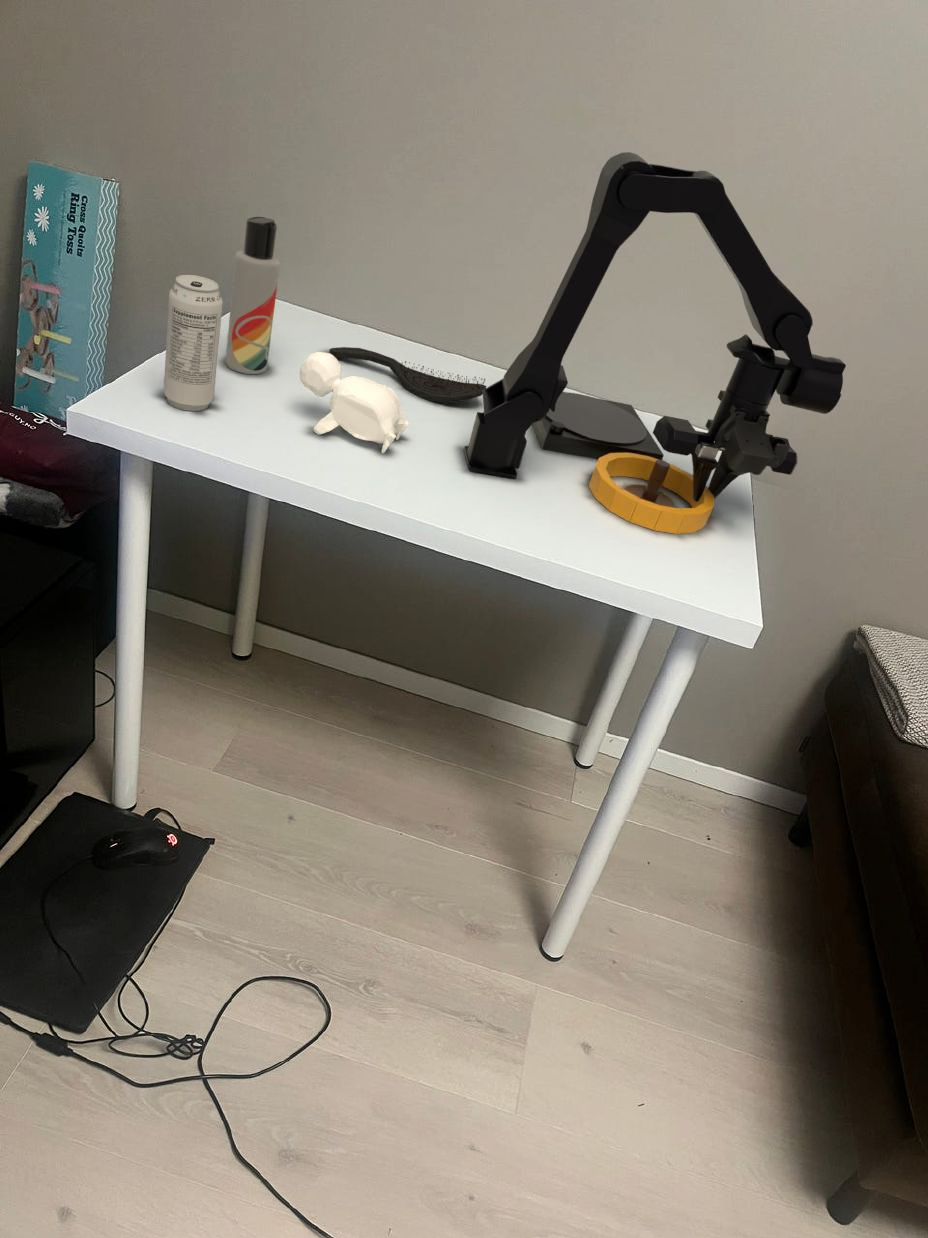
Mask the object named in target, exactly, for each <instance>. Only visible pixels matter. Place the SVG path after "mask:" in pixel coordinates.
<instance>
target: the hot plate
mask: <svg viewBox="0 0 928 1238" xmlns="http://www.w3.org/2000/svg"><path fill="white" fill-rule="evenodd" d="M531 426H532V427H533V429H534V432H535V434H536V437H537V439H538V442H539V445H540V447H541V449H542V450H547V451H550V452H551V451H552V452H558V453H563V454H569V455H572V456H573V455H574V456H580V457H585V458H591V459H597V460H598V459H599V458H600V457H602V456H605V455H607V454H609V453H634V454H639V455H645V456H649V457H652V458H655V459H658V460H663V459H664V457H665V454H664V453H663V452H662V450H661V448H660V446H658V445H659V444H657V442H656V441H655V439H654V437H653V436H652V435H651V433H650V431H649V430H648V428H647V427H646V425H645V424H644V422H643V420H642V419H641V417H640V416H639V414H638V413H637V411H636V410H635V408H634V407H633V405H632V404H628V403H623V402H619V401H613V400H608V399H603V398H598V397H597V398H596V397H593V396H590V395H585V394H581V393H577V392H567V391H563V392H562V393H561V395H560V396H559V398H558V399H557V402H556V405H555V411H554V412H552V410H551V409H549V412H548V413H547V415H546V416H545V417H544V418H543V419H542V420H541V421H537V422H534V423H532V424H531Z"/></svg>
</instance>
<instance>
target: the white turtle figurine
mask: <svg viewBox="0 0 928 1238" xmlns="http://www.w3.org/2000/svg"><path fill="white" fill-rule="evenodd" d="M342 371H343V370H342V366H341V364H340V362H339V360H338V358H337V357H334V356H333V355H332V354H330V353H329V352H325V351H317V352H313V353H311V354H308V355H307V357H306V358H305V360H304V361H303V363H302V364H301V365H300V368H299V380H300V382H301V384H302V385H303V386H304V388H306V389H308V390H310V391H311V392H312V393H313V394H314V395H315V396H317V397H321V398H322V397H325V396H326V395H328V394H330V393H331V392H332V394H331V396H330V401H329V407H330V412H329V413H328V414H326V415H325V416H324V417H323V418H321V419H320V420H318V422H317V423H316V424H315V425H314V427H313V432H314V433H315V434H317V435H323V434H326V433H328V432H331V431H332V430H334V429H336V428H337V427H339V426H341V427H342V428H343V430H345V431H346V432H348V434H350V435H352V437H354V438H356V439H360V440H363V441H371V442H374V443H376V444H383V445H382V449H381V453H382V454H385V453H386V451H387V450H388V448H389V447H390V445H391V444H392V443H393V442H394V440H396V441H398V440H399V439H400V438H401V436H402V435H403V433H404V432H405V431H406V429H407V428H408V426H409V425H410V422H409V421H408V420H405V417H404V413H403V410H402V407H401V403H400V400H399V396H398V395H397V394H396V391H394V390H393V389H392V388H391V387H389V386H388V385H384V384H381V383H378V382H375V381H374V380H371V379H368V378H366V377H363V376H357V375H351V376H346V377H344V378H342V379H341V375H342Z"/></svg>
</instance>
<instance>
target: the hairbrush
mask: <svg viewBox="0 0 928 1238" xmlns="http://www.w3.org/2000/svg"><path fill="white" fill-rule="evenodd" d="M328 351H329V352H328V353H330V354H332V355H333V356H334V357H335V358H341V359H351V360H358V361H359V360H360V361H369V362H371V363H375V364H378V365H381V366H384V367H387V368H389V369H390V370H391V372H392V373H393V375H394V376H395V377H396V378H397V379H398V381H399V382H400V383H401V384H402V385H403V386H404V388H405V389H406V390H408V391H409V392H411V393H412V394H414V395H415V396H417V397H419V398H421V399H425V400H428V401H431V402H437V403H445V404H446V403H447V404H449V403H457V402H465V401H471V400H473V399H476V398H478V397H482V396H483V395H482V391H483V390H484V389H486V388H487V385H485V382H486V378H485V377H484V378H483V377H481V378H480V377H478V379H480V380H483V381H482V383H479V380H477V376H474V377H473V380H472V382H470V379H468V376H467V375H466V377H464V378H463V375H461V376H460V374H458V373H457V376H454V377H452V376H453V375H454V373H452V375H451V372H448V376H447V378H445V375H443V374H444V371H441V370H440V372H439V369H438V370H437V371H436V372H435V373H433V372H434V368H431V370H430V374H429V373H428V372H429V371H428V370H429V369H430V367H427V369H425V371H424V368H425V365H422V366H421V368H420V371H419V370H418V368H419V366H420V364H418V366H416V367H415V366H414V365H415V364H416V363H415V362H414V363H413V366H411V368H410V366H406V364H407V360H404V362H400V361H398V360H397V359H395V358H393V357H390V356H387V355H384V354H382V353H380V352H376V351H373V350H369V349H365V348H361V347H352V346H351V347H347V346H342V347H332V348H329V350H328ZM410 363H411V362H410V361H409V362H408V364H410ZM438 372H439V373H440V374H438ZM435 374H437V376H436V375H435ZM475 382H476V383H475Z"/></svg>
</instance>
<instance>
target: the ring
mask: <svg viewBox="0 0 928 1238" xmlns="http://www.w3.org/2000/svg"><path fill="white" fill-rule="evenodd" d="M656 460H658V459H655V458H652V457H649V456H645V455H639V454H634V453H609V454H607V455H605V456H602V457H600V458H599V459H597V462H596V464H595V467H594V470H593V472H592V475H591V478H590V481H589V484H588V487H589V489H590V491H591V494H592V496H593V497H594V499H595V500H597V502H599V503H600V504H601V505H602V506H603V507H604V508H605V509H607V510H608V511H609V512H610V513H613V514H614V515H616V516H618V517H619V518H622V519H623V520H625V521H627V522H629V523H632V524H635V525H637V526H640V527H643V528H646V529H649V530H652V531H656V532H661V533H668V534H675V535H681V534H682V535H683V534H694V533H696V532H698V531H700V530H701V529H703V528H704V527H706V525H707V524H708V520H709V518H710V517H711V513H712V511H713V510H714V508H715V507H714V505H715V499H714V496H713V495H712V493H711V492H710V490H709V489H708V486H707V485H706V487H705V489H704V492H703V494H702V496H701V498H700V499H699V501H698V502H696V501H695V500H694V499H693V473H690V472H688V471H686V470H684V469H682V468H680V467H679V466H676V465H675V464H673V463H672V464H671V463H670V462H668V463H669V464H670V468H669V470H668V472H667V475H666V477H665V480H664V482H663V485H662V487H664V488H666V489H668V490H670V491H671V492H673V493H675V494H676V495H678V496H679V497H681V498H682V499H683V500H685V502H687V503H688V504H690V506H691V507H686V508H685V507H684V508H679V507H673V508H672V507H667V506H661V505H658V504H655V503H652V502H649V501H646V500H643V499H641V498H639V497H637V496H635V495H633V494H631V493H630V492H628V491H626V490H624V489H625V488H622V487H621V486H620V485H619V484H618V483H617V482H616V481H614V480H613V479H612V478H613V477H629V478H635V479H639V480H645V481H648V479H649V477H650V474H651V472H652V469H653V467H654V464H655V462H656Z"/></svg>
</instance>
